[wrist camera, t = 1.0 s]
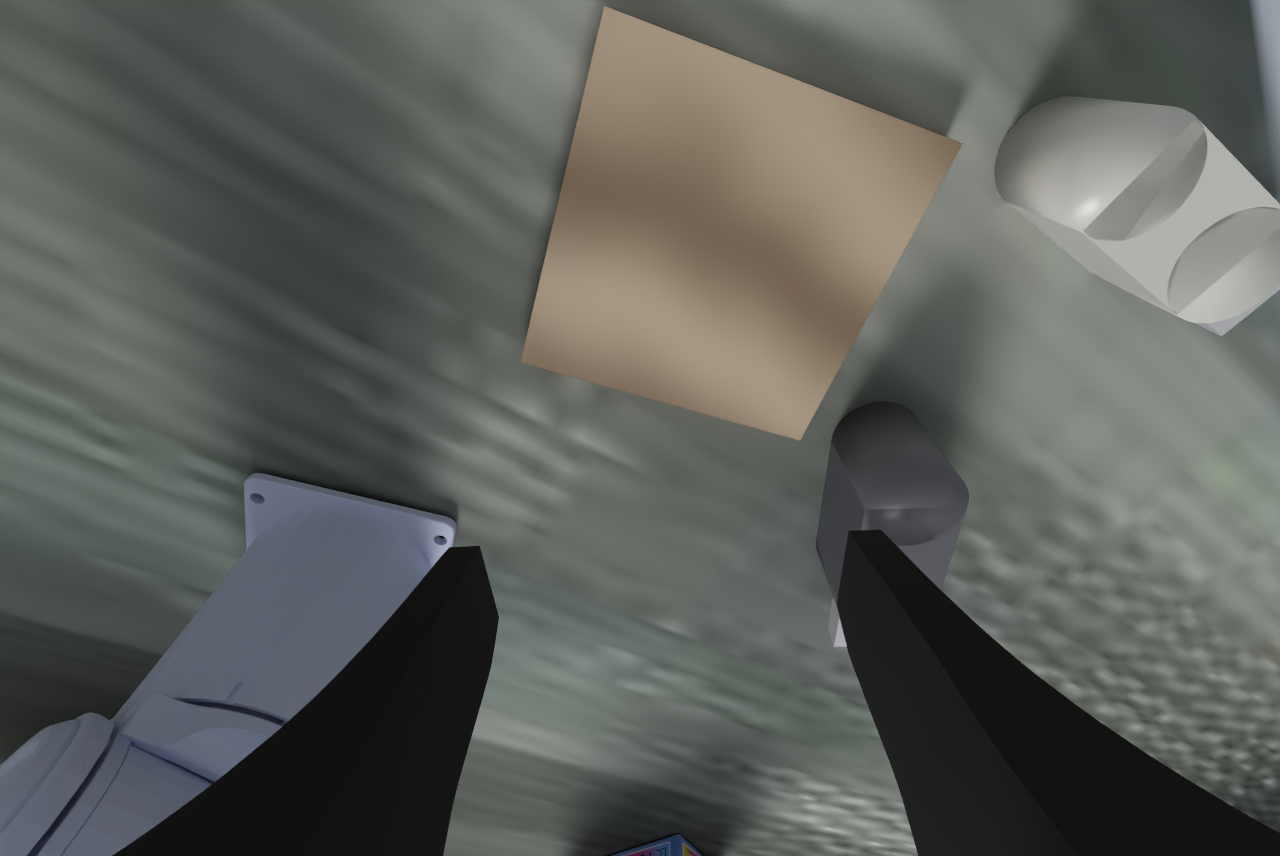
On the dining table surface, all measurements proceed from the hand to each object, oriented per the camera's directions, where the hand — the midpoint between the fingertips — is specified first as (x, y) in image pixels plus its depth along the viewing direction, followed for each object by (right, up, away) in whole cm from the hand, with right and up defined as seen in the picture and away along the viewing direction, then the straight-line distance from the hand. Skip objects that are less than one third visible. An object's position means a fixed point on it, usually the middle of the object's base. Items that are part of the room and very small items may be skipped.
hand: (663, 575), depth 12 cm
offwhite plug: (+13, +10, +6) cm, 17 cm away
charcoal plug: (+8, -1, +12) cm, 15 cm away
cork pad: (+2, +8, +7) cm, 11 cm away
